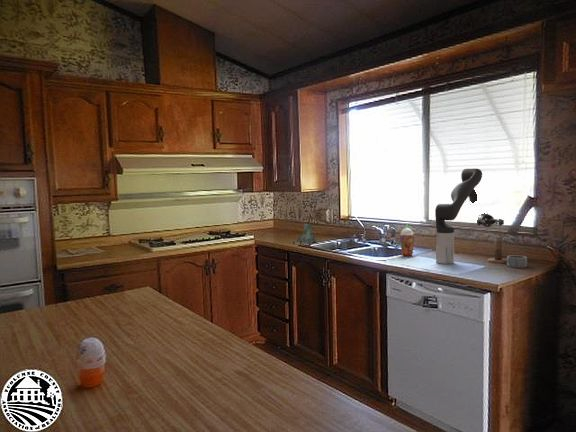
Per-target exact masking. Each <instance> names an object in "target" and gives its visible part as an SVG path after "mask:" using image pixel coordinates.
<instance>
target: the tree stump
mask: <svg viewBox="0 0 576 432" xmlns="http://www.w3.org/2000/svg"><path fill="white" fill-rule="evenodd" d="M312 225H313V224H310V223H307V222H306V223H304V224H303V230H302V232H301V234H300V236H299V237H298V238H297V239H295V241H296V242H300V243H313V242H314V243H315V242H317V240H318V238H316V237H314V235H313V230H312V229H313V228H312V227H313V226H312ZM314 243H313V244H314Z"/></svg>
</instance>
